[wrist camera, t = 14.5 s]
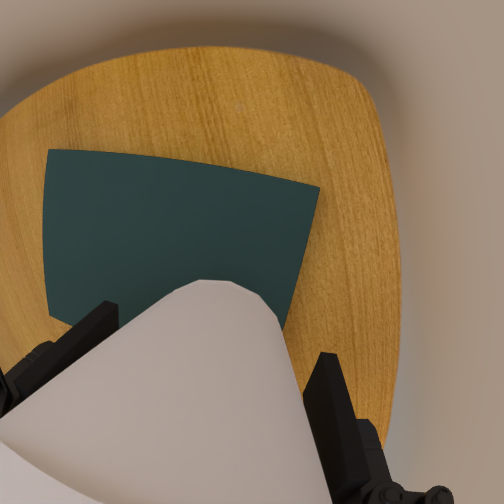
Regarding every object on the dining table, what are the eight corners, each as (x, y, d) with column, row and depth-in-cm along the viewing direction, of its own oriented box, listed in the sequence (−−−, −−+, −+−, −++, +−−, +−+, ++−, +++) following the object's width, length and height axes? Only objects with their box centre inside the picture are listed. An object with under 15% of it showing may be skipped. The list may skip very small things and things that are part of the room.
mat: (317, 187, 18) (320, 187, 17) (265, 377, 22) (265, 384, 21) (55, 149, 18) (48, 149, 17) (54, 311, 22) (49, 315, 21)
